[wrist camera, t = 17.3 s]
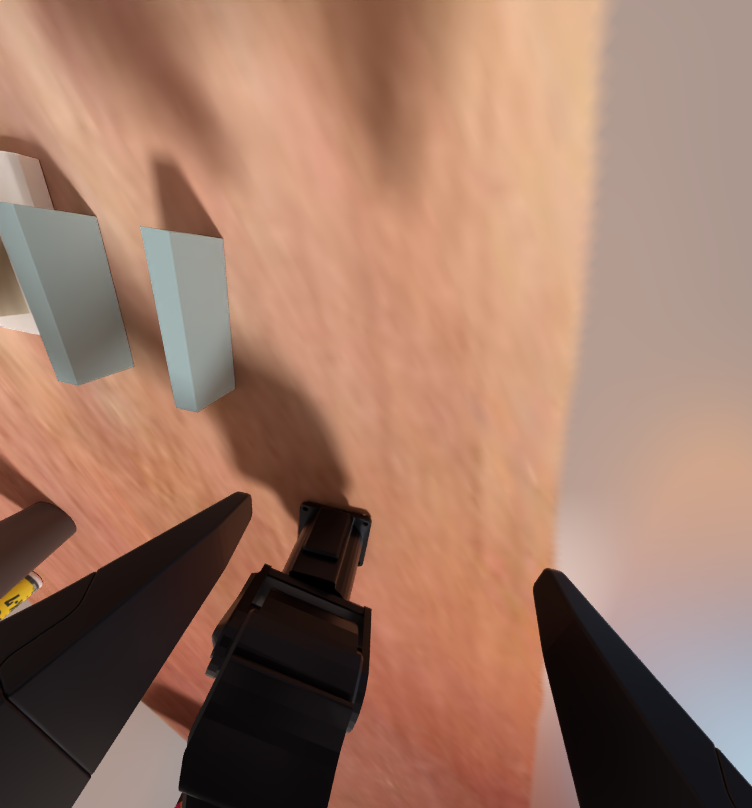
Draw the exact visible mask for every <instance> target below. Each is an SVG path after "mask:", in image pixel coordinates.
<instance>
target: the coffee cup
mask: <svg viewBox="0 0 752 808" xmlns="http://www.w3.org/2000/svg"><path fill="white" fill-rule="evenodd" d="M75 532H76V526H75V523H74V522H73V520H72V519H71V518H70V517H69V516H68V515H67V514H66V513H65V512H64V511H62V510H61V509H59V508H58V507H56V506H54V505H52V504H48V503H45V502H39V503H36V504H34V505H32V506H30V507H28V508H26V509H24V510H22V511H20V512H18V513H16V514H14V515H12V516H10V517H8V518H6V519H4V520H2V521H0V599H1V598H2V597H3V596H5V595H6V594H7V593H8V592H9V591H10V590H11V589H12V588H14V587H15V586H16V585H17V584H18V583H19V582H20V581H21V580H23V579H24V578H25V577H26V576H27V575H28V574H29V573H30V572H31V571H33V570H34V569H35V568H36V567H37V566H38V565H39V564H40V563H42V562H43V561H44V560H45V559H46V558H47V557H48V556H49V555H51V554H52V553H53V552H54V551H55V550H56V549H57V548H58V547H60V546H61V545H62V544H63V543H64V542H65V541H66V540H67V539H68V538H70V537H71V536H72V535H73V534H74V533H75Z"/></svg>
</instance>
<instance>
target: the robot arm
mask: <svg viewBox="0 0 752 808" xmlns="http://www.w3.org/2000/svg"><path fill="white" fill-rule="evenodd" d="M306 507H307V508H306ZM251 517H252V499H251V495H250V494H248V493H244V492H235V493H233V494H232V495H230V496H228V497H226V498H225V499H223V500H221V501H219V502H217V503H216V504H214V505H212V506H210V507H209V508H207V509H205V510H203V511H201V512H200V513H198V514H196V515H194V516H192V517H191V518H189V519H187V520H185V521H184V522H182V523H180V524H178V525H176V526H175V527H173V528H171V529H169V530H168V531H166V532H164V533H162V534H160V535H159V536H157V537H155V538H153V539H152V540H150V541H148V542H146V543H144V544H143V545H141V546H139V547H137V548H135V549H134V550H132V551H130V552H128V553H127V554H125V555H123V556H121V557H119V558H118V559H116V560H114V561H112V562H111V563H109V564H107V565H105V566H103V567H102V568H100V569H98V570H97V572H93V573H91V574H89V575H87V576H85V577H84V578H82V579H80V580H78V581H76V582H75V583H73V584H71V585H69V586H67V587H65V588H64V589H62V590H60V591H58V592H56V593H54V594H53V595H51V596H49V597H47V598H45V599H43V600H41V601H39V602H38V603H36V604H34V605H32V606H30V607H28V608H26V609H24V610H22V611H20V612H18V613H16V614H14V615H12V616H10V617H8V618H6V619H4V620H2V621H0V808H72V806H73V804H74V803H75V801H76V800H77V798H78V797H79V795H80V794H81V792H82V790H83V789H84V787H85V786H86V784H87V783H88V781H89V780H90V778H91V775H92V774H93V773H94V771H95V770H96V768H97V767H98V765H99V764H100V762H101V761H102V759H103V758H104V756H105V754H106V753H107V751H108V750H109V748H110V747H111V745H112V743H113V742H114V740H115V739H116V737H117V736H118V734H119V733H120V731H121V729H122V728H123V726H124V725H125V723H126V722H127V720H128V719H129V717H130V715H131V714H132V712H133V711H134V709H135V708H136V706H137V705H138V703H139V702H140V700H141V699H142V697H143V695H144V694H145V692H146V691H147V689H148V688H149V686H150V685H151V683H152V681H153V680H154V678H155V677H156V675H157V674H158V672H159V671H160V669H161V667H162V666H163V664H164V663H165V661H166V660H167V658H168V657H169V655H170V654H171V652H172V650H173V649H174V647H175V646H176V644H177V643H178V641H179V640H180V638H181V636H182V635H183V633H184V632H185V630H186V629H187V627H188V626H189V624H190V622H191V621H192V619H193V618H194V616H195V615H196V613H197V612H198V610H199V609H200V607H201V605H202V604H203V602H204V601H205V599H206V598H207V596H208V595H209V593H210V591H211V590H212V588H213V587H214V585H215V584H216V582H217V581H218V579H219V577H220V576H221V574H222V573H223V571H224V569H225V568H226V566H227V564H228V562H229V560H230V558H231V556H232V555H233V553H234V551H235V549H236V547H237V545H238V543H239V541H240V539H241V537H242V535H243V533H244V531H245V529H246V527H247V525H248V524H249V522H250V520H251ZM371 523H372V520H371V518H369V517H367V516H363V515H359V514H355V513H351V512H347V511H343V510H339V509H335V508H331V507H327V506H323V505H318V504H314V503H310V502H303V503H302V505H301V507H300V523H299V538H298V540H297V542H296V544H295V546H294V548H293V550H292V552H291V554H290V556H289V559H288V561H287V563H286V565H285V567H284V569H283V571H282V572H280V571H278V570H276V569H273V568H271V567H272V566H270V565H268V564H265V565H264V566H263V568H262V570H261V571H260V572H258V573H251V575H250V577H249V579H248V580H247V582H246V584H245V586H244V587H243V589H242V591H241V592H240V594H239V596H238V597H237V599H236V600H235V601H234V603H233V604H232V606H231V607H230V608H229V610H228V611H227V613H226V614H225V615H224V617H223V618H222V620H221V621H220V622H219V624H218V625H217V627H216V628H215V630H214V632H213V634H212V641H213V648H214V649H213V651H212V654H211V656H210V658H212V659H211V661H210V663H209V666H208V668H207V670H206V673H205V675H207V676H209V677H211V678H216V679H215V681H214V683H213V685H212V687H211V689H210V691H209V693H208V695H207V697H206V700H205V702H204V704H203V706H202V708H201V710H200V712H199V714H198V716H197V718H196V720H195V722H194V724H193V726H192V728H191V731H190V733H189V736H188V742H187V748H186V750H185V752H184V755H183V761H182V767H181V774H180V781H179V791H180V792H183V798H182V808H327V807H328V802H329V798H330V793H331V789H332V785H333V780H334V776H335V771H336V767H337V763H338V759H339V754H340V751H341V747H342V744H343V740H344V737H345V734H346V733H349V732H350V731H351V730H352V729H353V727H354V725H355V723H356V721H357V718H358V716H359V713H360V710H361V707H362V703H363V700H364V696H365V691H366V686H367V680H368V674H369V658H370V634H371V609H370V608H368V607H366V606H364V607H362V606H360V605H358V604H355V603H353V602H350V601H349V600H350V595H351V591H352V587H353V583H354V578H355V574H356V570H357V566H362V565H363V561H364V556H365V551H366V547H367V542H368V537H369V532H370V528H371ZM533 595H534V601H535V608H536V615H537V621H538V628H539V635H540V641H541V647H542V653H543V658H544V662H545V667H546V671H547V675H548V679H549V683H550V687H551V691H552V695H553V699H554V703H555V707H556V712H557V716H558V720H559V724H560V727H561V732H562V736H563V740H564V744H565V748H566V752H567V756H568V760H569V765H570V769H571V773H572V777H573V781H574V785H575V789H576V793H577V797H578V801H579V806H580V808H752V786H751V785H750V784H749V783H748V781H747V780H746V779H745V778H744V777H743V776H742V775H741V774H740V772H739V771H738V770H737V769H736V768H735V767H734V766H733V765H732V763H731V762H730V761H729V760H728V759H727V758H726V757H725V755H724V754H723V753H722V752H721V751H720V750H719V749H718V748H715V746H714V744H713V742H712V741H711V740H710V739H709V738H708V736H707V735H706V734H705V733H704V732H703V731H702V730H701V728H700V727H699V726H698V725H697V724H696V723H695V722H694V720H693V719H692V718H691V717H690V716H689V715H688V714H687V713H686V711H685V710H684V709H683V708H682V707H681V706H680V705H679V704H678V702H677V701H676V700H675V699H674V698H673V697H672V696H671V694H669V692H668V691H667V690H666V689H665V688H664V686H663V685H662V684H661V683H660V682H659V681H658V680H657V679H656V677H655V676H654V675H653V674H652V673H651V672H650V671H649V670H648V668H647V667H646V666H645V665H644V664H643V663H642V662H641V660H640V659H639V658H638V657H637V656H636V655H635V654H634V653H633V651H632V650H631V649H630V648H629V647H628V646H627V645H626V643H625V642H624V641H623V640H622V639H621V638H620V637H619V635H618V634H617V633H616V632H615V631H614V630H613V629H612V628H611V626H610V625H608V623H607V622H606V621H605V620H604V618H603V617H602V616H601V615H600V614H599V613H598V612H597V610H596V609H595V608H594V607H593V606H592V605H591V604H590V603H589V601H588V600H587V599H586V598H585V597H584V596H583V595H582V593H581V592H580V591H579V590H578V589H577V588H576V587H575V586H574V584H573V583H572V582H571V581H570V580H569V579H568V578H567V576H566V575H565V574H563V573H562V572H561V571H558V570H554V569H550V568H546V569H544V570H543V572H542V573H541V574H540V576H539V577H538V579H537V580H536V582H535V583H534V586H533Z"/></svg>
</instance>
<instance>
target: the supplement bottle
mask: <svg viewBox="0 0 752 808" xmlns="http://www.w3.org/2000/svg"><path fill="white" fill-rule="evenodd" d="M42 584H43V583H42V580H41V578H40V577H39V576H38V575H37V574H36V573H34V572H33V571H31V572H30V573H29V574H28V575H27V576H26V577H25V578H24V579H23V580H21V581H20V582H19V583H18V584H17V585H16V586H15V587H14V588H12V589H11V590H10V591H9V592H8V593H7V594H6V595H5V596H3V597H2V598H1V599H0V620H2V619H3V618H4V617H5V616H6V615H8V614H9V613H10V612H11V611H12V610H14V609H15V608H16V607H17V606H18V605H20V604H21V603H22V602H23V601H25V600H26V599H27V598H28V597H29V596H31V595H32V594H33V593H34V592H36V591H37V590H38V589H39V588H40V587H41V586H42Z"/></svg>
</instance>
